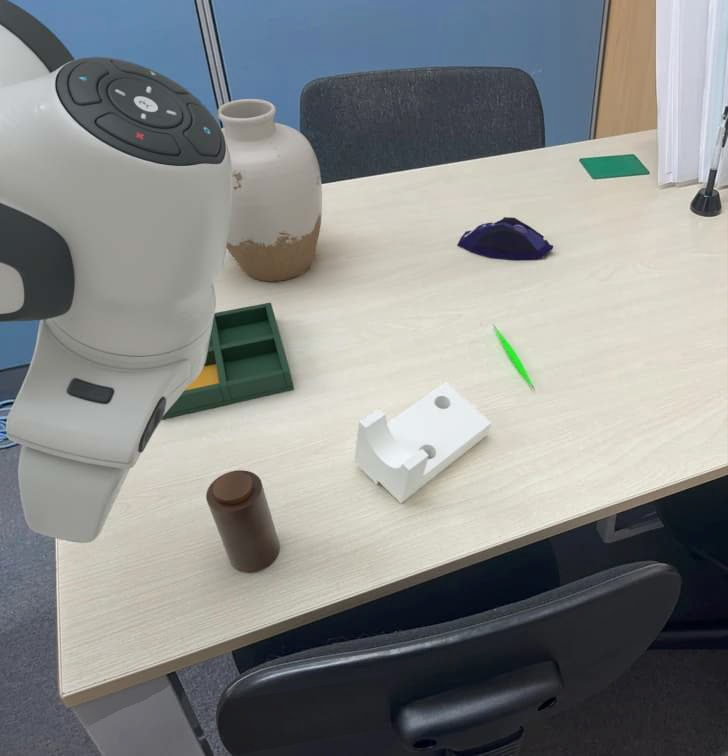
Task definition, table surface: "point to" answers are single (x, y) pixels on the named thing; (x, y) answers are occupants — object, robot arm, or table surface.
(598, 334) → the table surface
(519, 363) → the leaf
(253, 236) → the vase
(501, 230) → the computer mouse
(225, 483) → the brown lidded canister
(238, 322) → the grid
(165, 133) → the robot arm
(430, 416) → the bracket
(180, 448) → the table surface
